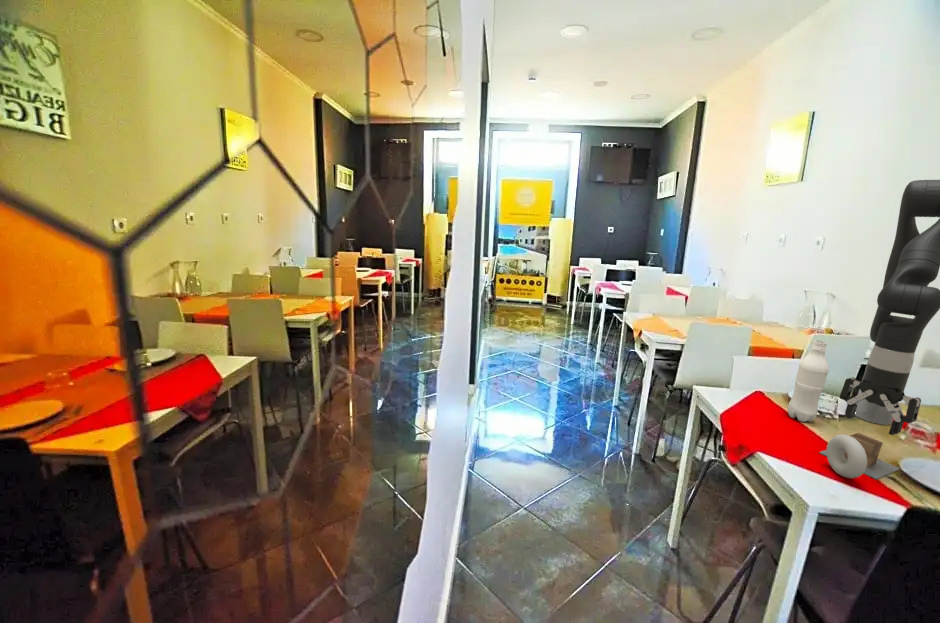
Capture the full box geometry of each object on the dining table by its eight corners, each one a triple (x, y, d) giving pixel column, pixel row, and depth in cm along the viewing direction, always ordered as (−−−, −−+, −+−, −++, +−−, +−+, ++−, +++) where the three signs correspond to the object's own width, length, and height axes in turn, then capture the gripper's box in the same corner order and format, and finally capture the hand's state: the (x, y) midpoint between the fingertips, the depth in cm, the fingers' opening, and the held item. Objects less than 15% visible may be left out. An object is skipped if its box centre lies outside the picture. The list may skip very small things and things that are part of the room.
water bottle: (819, 425, 127) (842, 346, 122) (793, 421, 129) (813, 343, 123) (806, 414, 134) (826, 339, 128) (781, 411, 136) (800, 336, 130)
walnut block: (852, 453, 112) (858, 432, 111) (875, 463, 108) (882, 442, 106) (842, 456, 110) (848, 435, 109) (865, 467, 106) (872, 446, 104)
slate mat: (843, 444, 117) (843, 443, 117) (900, 469, 106) (900, 468, 106) (819, 453, 112) (819, 452, 112) (876, 479, 101) (876, 478, 101)
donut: (818, 461, 108) (828, 426, 105) (833, 463, 107) (843, 427, 105) (848, 486, 98) (860, 448, 96) (864, 488, 98) (876, 449, 95)
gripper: (936, 374, 98) (915, 437, 102) (860, 354, 110) (844, 410, 115) (921, 379, 95) (900, 443, 99) (845, 357, 107) (829, 415, 111)
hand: (870, 425), depth 107 cm, fingers open, 8 cm apart
